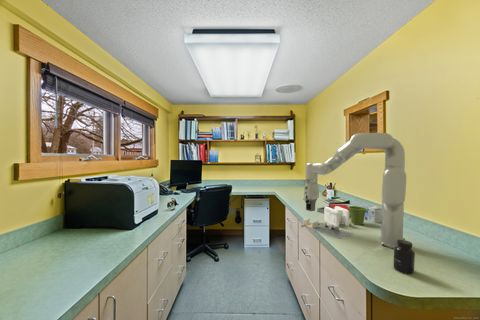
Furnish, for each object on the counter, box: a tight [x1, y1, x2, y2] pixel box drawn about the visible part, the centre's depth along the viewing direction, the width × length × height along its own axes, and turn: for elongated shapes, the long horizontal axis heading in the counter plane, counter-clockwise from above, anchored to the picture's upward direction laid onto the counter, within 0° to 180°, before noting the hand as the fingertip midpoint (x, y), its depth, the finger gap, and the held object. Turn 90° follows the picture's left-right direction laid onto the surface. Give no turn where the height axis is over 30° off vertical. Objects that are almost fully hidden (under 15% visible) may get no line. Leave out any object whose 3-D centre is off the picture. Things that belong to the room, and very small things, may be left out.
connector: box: [305, 199, 316, 212], centre depth 137 cm, size 4×4×8 cm
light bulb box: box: [362, 204, 382, 224], centre depth 156 cm, size 11×7×11 cm, turn 17°
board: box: [300, 218, 353, 240], centre depth 131 cm, size 27×14×5 cm, turn 33°
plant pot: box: [348, 205, 367, 226], centre depth 148 cm, size 12×12×11 cm
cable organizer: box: [323, 206, 350, 228], centre depth 144 cm, size 15×11×12 cm
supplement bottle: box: [392, 239, 416, 275], centre depth 86 cm, size 7×7×12 cm
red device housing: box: [328, 203, 350, 213], centre depth 176 cm, size 18×14×5 cm
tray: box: [317, 205, 351, 219], centre depth 176 cm, size 24×28×3 cm
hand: (310, 208), depth 137 cm, fingers closed on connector, 4 cm apart
